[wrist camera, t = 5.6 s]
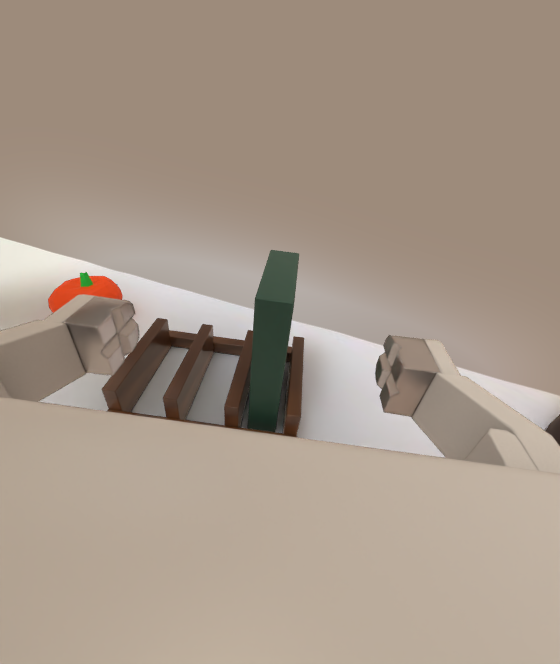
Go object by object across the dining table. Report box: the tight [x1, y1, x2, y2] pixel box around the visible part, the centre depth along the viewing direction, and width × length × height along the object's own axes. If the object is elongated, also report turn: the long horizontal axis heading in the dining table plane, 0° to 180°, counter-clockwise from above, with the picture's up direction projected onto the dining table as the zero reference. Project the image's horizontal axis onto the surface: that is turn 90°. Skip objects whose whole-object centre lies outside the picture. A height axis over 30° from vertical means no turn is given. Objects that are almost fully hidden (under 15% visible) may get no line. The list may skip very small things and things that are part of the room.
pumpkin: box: [48, 272, 122, 313], centre depth 37 cm, size 7×8×6 cm
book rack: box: [102, 318, 304, 437], centre depth 30 cm, size 17×13×4 cm
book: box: [248, 250, 299, 432], centre depth 27 cm, size 3×9×14 cm, turn 174°
